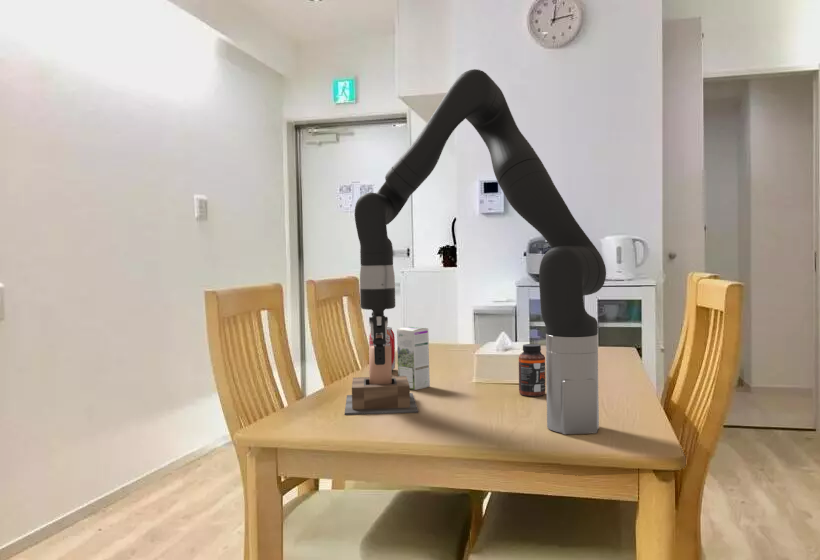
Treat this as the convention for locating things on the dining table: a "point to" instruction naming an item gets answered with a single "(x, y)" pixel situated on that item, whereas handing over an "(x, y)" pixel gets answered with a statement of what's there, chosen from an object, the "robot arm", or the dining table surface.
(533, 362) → the supplement bottle
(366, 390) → the holder
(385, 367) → the peg
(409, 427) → the dining table surface
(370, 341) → the soda can
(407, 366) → the syrup box
